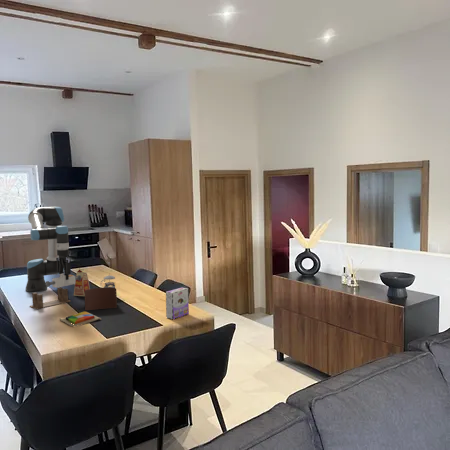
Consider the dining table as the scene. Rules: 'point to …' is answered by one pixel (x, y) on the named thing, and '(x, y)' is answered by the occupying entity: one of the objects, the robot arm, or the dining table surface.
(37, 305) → the cradle rack
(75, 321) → the wooden puzzle
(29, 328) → the dining table surface
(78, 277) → the white block with pegs
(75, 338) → the dining table surface
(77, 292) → the milk carton
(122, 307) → the dining table surface
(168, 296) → the candy box
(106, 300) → the letter holder
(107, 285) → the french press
